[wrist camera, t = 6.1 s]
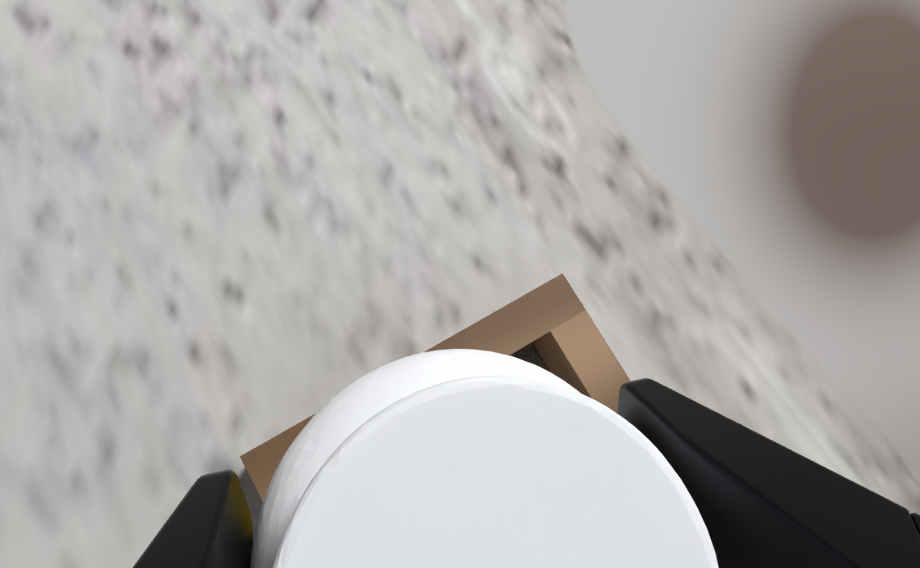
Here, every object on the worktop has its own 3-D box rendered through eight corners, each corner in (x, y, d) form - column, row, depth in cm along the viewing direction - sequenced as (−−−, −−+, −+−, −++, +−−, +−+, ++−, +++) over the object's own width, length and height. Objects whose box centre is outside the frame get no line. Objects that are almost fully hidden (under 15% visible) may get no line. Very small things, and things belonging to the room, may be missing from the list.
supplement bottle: (261, 502, 14) (12, 602, 4) (431, 348, 15) (513, 183, 6) (417, 688, 13) (507, 1261, 4) (578, 508, 15) (925, 603, 5)
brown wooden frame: (721, 575, 21) (764, 592, 19) (431, 800, 18) (438, 854, 16) (543, 290, 23) (562, 273, 21) (257, 454, 20) (239, 456, 18)
